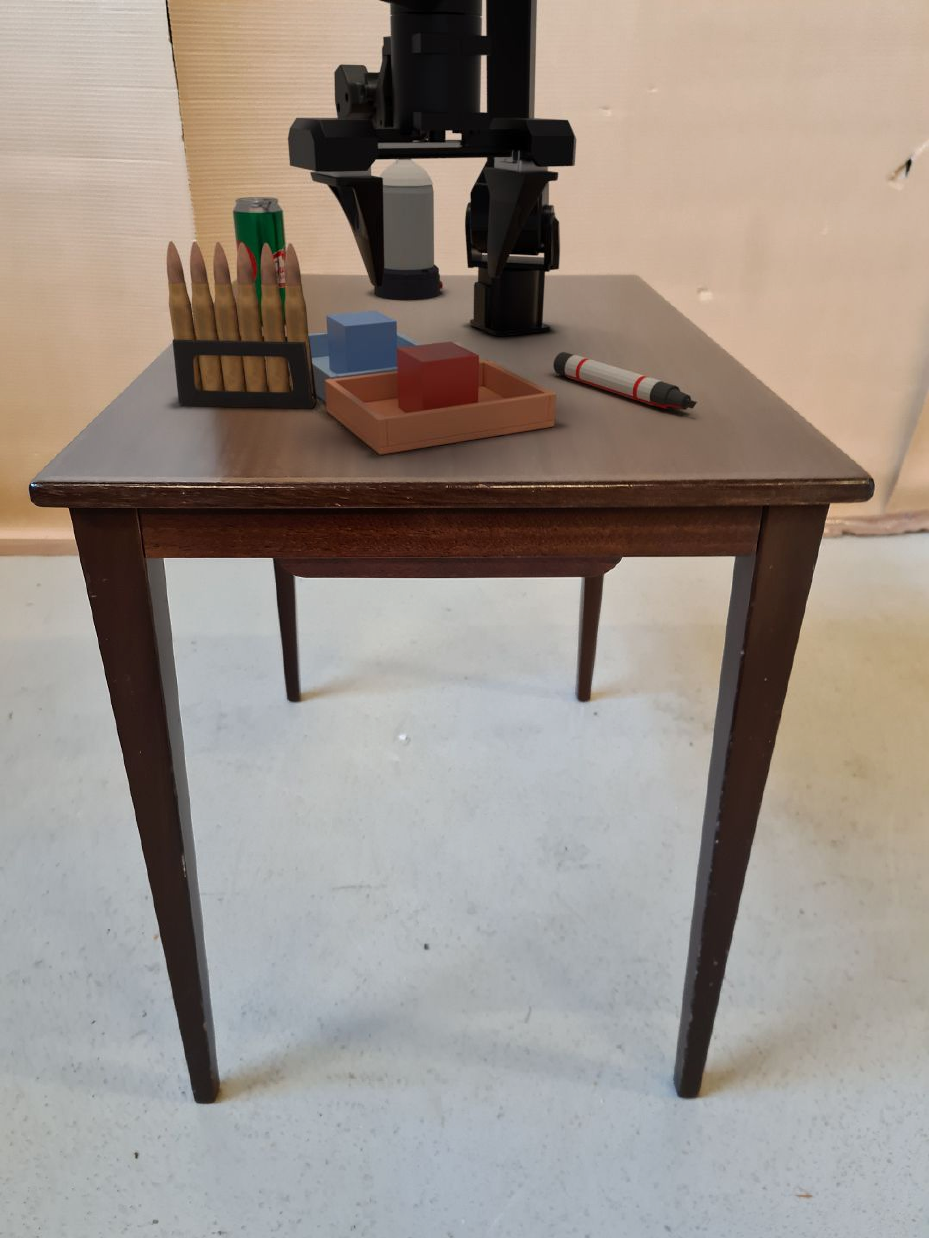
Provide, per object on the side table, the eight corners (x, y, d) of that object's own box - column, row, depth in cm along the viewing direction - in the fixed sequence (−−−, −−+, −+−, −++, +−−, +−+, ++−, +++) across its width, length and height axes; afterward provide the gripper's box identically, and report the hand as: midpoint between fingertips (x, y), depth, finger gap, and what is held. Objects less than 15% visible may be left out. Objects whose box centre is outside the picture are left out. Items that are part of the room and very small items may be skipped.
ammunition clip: (178, 405, 71) (153, 243, 65) (185, 398, 73) (162, 239, 67) (313, 408, 71) (300, 245, 65) (317, 401, 73) (305, 241, 66)
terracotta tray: (486, 389, 76) (486, 359, 75) (554, 426, 68) (556, 393, 66) (326, 411, 70) (324, 379, 69) (379, 455, 62) (378, 419, 61)
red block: (451, 400, 72) (451, 341, 69) (478, 416, 68) (479, 355, 66) (398, 407, 70) (396, 347, 67) (423, 425, 66) (422, 362, 64)
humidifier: (454, 293, 112) (455, 55, 99) (407, 302, 106) (402, 53, 94) (407, 284, 116) (402, 56, 104) (360, 293, 111) (349, 54, 98)
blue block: (377, 363, 81) (375, 310, 79) (398, 375, 77) (396, 320, 75) (329, 368, 79) (325, 314, 77) (348, 382, 76) (344, 326, 73)
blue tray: (388, 352, 86) (387, 326, 85) (455, 391, 75) (455, 361, 74) (278, 365, 82) (276, 337, 81) (332, 408, 71) (330, 376, 70)
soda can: (282, 327, 95) (270, 202, 89) (237, 324, 96) (222, 201, 89) (299, 317, 99) (289, 197, 93) (255, 314, 100) (243, 196, 94)
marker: (552, 376, 80) (553, 353, 79) (568, 372, 81) (570, 350, 80) (686, 420, 69) (690, 395, 68) (703, 416, 70) (707, 391, 69)
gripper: (503, 30, 66) (496, 257, 74) (252, 18, 58) (275, 272, 66) (589, 21, 57) (571, 279, 65) (308, 6, 50) (326, 300, 58)
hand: (437, 281), depth 64 cm, fingers open, 9 cm apart
